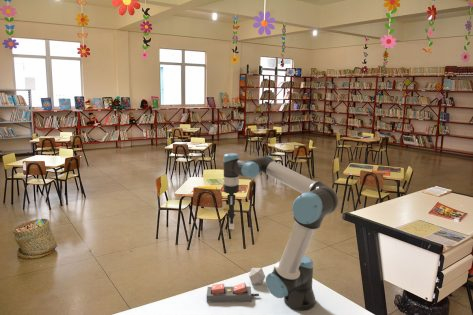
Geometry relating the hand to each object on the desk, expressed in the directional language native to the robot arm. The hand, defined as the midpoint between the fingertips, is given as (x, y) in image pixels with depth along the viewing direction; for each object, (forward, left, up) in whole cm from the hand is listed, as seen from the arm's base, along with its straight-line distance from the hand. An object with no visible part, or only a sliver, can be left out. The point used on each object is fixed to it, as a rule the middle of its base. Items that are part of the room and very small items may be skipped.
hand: (231, 228), depth 190 cm
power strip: (-6, +9, -32) cm, 34 cm away
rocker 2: (-9, +7, -29) cm, 31 cm away
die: (-10, -9, -33) cm, 35 cm away
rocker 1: (+1, +12, -29) cm, 31 cm away
